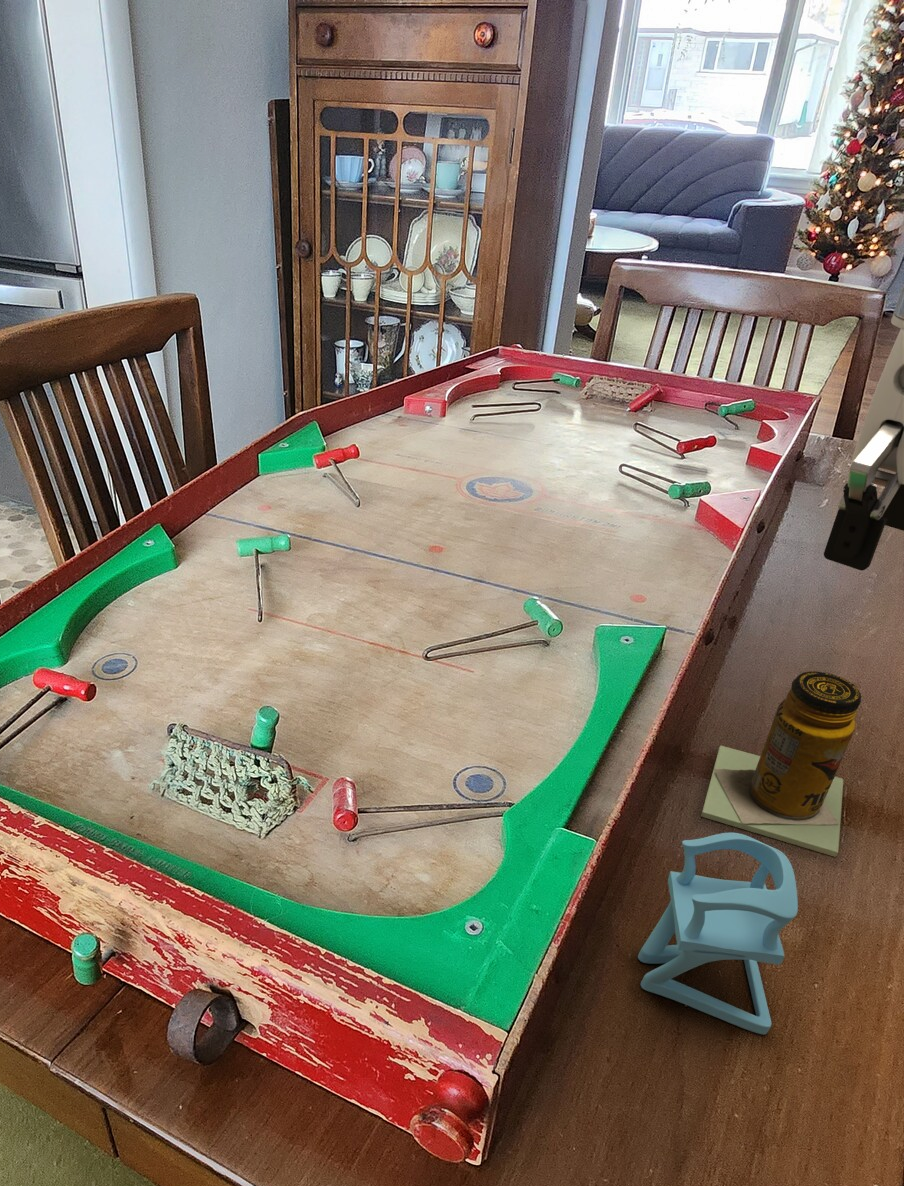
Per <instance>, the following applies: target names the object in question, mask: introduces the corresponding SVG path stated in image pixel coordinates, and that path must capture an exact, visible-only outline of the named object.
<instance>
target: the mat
mask: <svg viewBox="0 0 904 1186" xmlns="http://www.w3.org/2000/svg"><path fill="white" fill-rule="evenodd" d="M760 756H761V755H757V754H754V753H750V752H746V751H743V750H739V749H735V748H732V747H728V746H724V745H719V747H718V751H717V755H716V759H715V762H714V766H713V768H712V769H713V770H712V774H711V776H710V777H711V778H710V781H709V784H708V787H707V792H706V796H705V800H704V804H703V807H702V810H701V814H700V817H701V818H704V819H708V820H711V821H715V822H717V823H721V824H725V825H727V826H732V827H735V828H738V829H741V830H744V831H747V832H751V833H754V834H757V835H760V836H764V837H767V838H771V839H774V840H777V841H781V842H784V843H788V844H790V845H794V846H798V847H800V848H804V849H807V850H810V851H814V852H817V853H821V854H824V855H826V856H831V857H834V858H836V857H837V856H838V854H839V848H840V833H841V821H842V807H843V806H842V805H843V792H844V791H843V790H844V778H841V777H839V776H838V777H837V776H835V777H834V779H833V782H832V783H831V786H830V789H829V790H828V793H827V796H826V798H825V800H824V803H825V804H826V806H827V807H828V809H829V810H830V811H831V813H832V814H833V815H834V817H835V818H836V819H837V821H838V822H839V824H832V825H825V824H821V825H813V824H811V825H808V824H800V825H798V824H780V823H775V824H769V823H762V824H757V823H749V824H746V823H744V824H743V823H742V821H741V819H740V818H739V816H738V815H737V813H736V811H735V809H734V807H733V805H732V804H731V803H730V802H729V798H728V796H727V795H726V793H725V791H724V789H723V787H722V785H721V783H720V781H719V779H718V777H717V774H716V772H715V770H714V769H729V770H756V767H757V764H758V762H759V759H760Z"/></svg>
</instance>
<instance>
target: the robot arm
mask: <svg viewBox="0 0 904 1186" xmlns="http://www.w3.org/2000/svg"><path fill="white" fill-rule="evenodd" d="M899 293H900V294H899V296H898V298H897V301H896V305H895V307H894V310H893V313H892V317H891V320H890V324H892V326H895V327H896V328H899V332H898V334H897V337H896V339H895V341H894V343H893V346H892V348H891V351H890V353H889V356H888V357H887V359H886V362H885V365H884V367H883V370H882V371H881V375H880V377H879V380H878V381H877V382H878V383H877V385H876V388H875V391H874V392H873V396H872V398H871V401H870V403H869V406H868V409H867V412H866V414H865V416H864V417H865V418H864V419H863V423H862V426H861V428H860V431H859V434H858V437H857V441H856V444H855V447H854V450H853V454H852V457H851V464H850V467H849V470H848V471H849V472H848V481H847V482H846V483H845V484H844V486H843V490H842V493H843V494H842V496H841V499H840V501H839V502H838V509H837V512H836V514H835V518H834V521H833V524H832V527H831V530H830V533H829V537H828V539H827V542H826V545H825V548H824V551H823V557H824V558H825V560H828V561H831V562H833V563H836V564H840V565H843V566H846V567H849V568H852V569H855V570H858V571H865V570H867V569H868V568H870V566H871V564H872V561H873V558H874V555H875V553H876V550H877V547H878V545H879V542H880V539H881V537H882V535H883V532H884V529H885V526H886V527H890V528H892V529H895V530H899V531H902V532H904V282H903V283H902V287H901V289H900V292H899ZM880 469H883V470H880ZM885 470H887V471H885ZM888 471H891V472H894V473H891V472H888ZM872 484H873V485H872ZM876 485H877V486H881V487H884V488H883V490H882V492H881V493H880V495H879V496H878V489H877V486H876Z"/></svg>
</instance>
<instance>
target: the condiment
mask: <svg viewBox="0 0 904 1186" xmlns="http://www.w3.org/2000/svg"><path fill="white" fill-rule="evenodd" d="M861 703H862V694H861V691H860V690H859V689H858V688H857V686H856V684H855V683H852V682H851V681H849V680H847V679H846V678H844V677H841V676H838V675H835V674H833V673H829V672H824V671H823V672H821V671H817V670H816V671H811V670H810V671H803V672H802V673H800V674H798V675H797V677H796V678H794V679H793V681H792V682H791V687H790V689H789V691H788V692H787V695H786V698H785V699H783V700H782V701H781V702H780V703H779V705H778V707H777V709H776V712H775V715H774V716H773V720H772V723H771V725H770V729H769V732H768V733H767V737H766V740H765V743H764V744H763V748H762V750H761V754H760V755H759V756H760V759H759V762H758V764H757V767H756V770H729V769H714V768H713V769H714V770H715V772H716V774H717V777H718V779H719V781H720V783H721V785H722V787H723V789H724V791H725V793H726V795H727V796H728V798H729V802H730V803H731V804H732V805H733V807H734V809H735V811H736V813H737V815H738V816H739V818H740V819H741V821H742V823H743V824H744V823H746V824H749V823H757V824H762V823H769V824H775V823H780V824H798V825H800V824H808V825H811V824H813V825H821V824H825V825H832V824H839V822H838V821H837V819H836V818H835V817H834V815H833V814H832V813H831V811H830V810H829V809H828V807H827V806H826V804H825V803H824V800H825V798H826V796H827V793H828V790H829V789H830V786H831V783H832V782H833V779H834V777H836V774H837V771H838V770H839V767H840V765H841V762H842V760H843V757H844V755H845V754H846V751H847V748H848V746H849V743H850V742H851V740H852V738H853V735H854V732H855V730H856V720H855V718H856V716H857V710H858V709H859V706H860V705H861Z"/></svg>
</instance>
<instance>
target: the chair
mask: <svg viewBox="0 0 904 1186" xmlns="http://www.w3.org/2000/svg"><path fill="white" fill-rule="evenodd" d="M681 843H682V847H683V852H684V864H683V865H684V866H683V869H682V870H681V872H679V871H672V870H671V871H670V872H669V875H668V878H667V884H668V885H667V886H668V891H669V892H668V893H669V896H670V901H669V903H668V904H667V907H666V908H665V910H664V912H663V914H662V915H661V917H660V919H659V920H658V922H657V923H656V925H655V927H654V928H653V929H652V932H651V933H650V935H649V936H648V938H647V939H646V941H645V942H644V944H643V945H642V947H641V948H640V950H639V952H638V955H637V959H638V960H639V961H640V962H641V963H643V964H649V965H650V964H651V965H659V964H661V965H660V966H658V967H656V968H654V969H652V970H650V971H648V972H646V973H645V974H644V976H643V978H642V980H641V981H640V983H639V984H640V988H641V989H642V990H644V991H646V992H649V993H651V994H656V995H659V996H660V997H661V996H662V997H665V998H667V999H669V1000H673V1001H675V1002H677V1003H680V1004H683V1005H685V1006H688V1007H690V1008H693V1009H694V1010H698V1011H700V1012H701V1013H705V1014H707V1015H709V1016H711V1017H715V1018H717V1019H719V1020H721V1021H724V1022H726V1023H729V1024H731V1025H734V1026H736V1027H739V1028H741V1029H744V1030H747V1031H749V1032H752V1033H756V1034H758V1035H764V1036H765V1035H767V1034H768V1033H769V1030H770V1029H771V1027H772V1024H773V1023H772V1018H771V1014H770V1011H769V1007H768V1003H767V998H766V994H765V990H764V985H763V982H762V981H763V980H762V977H761V973H760V968H759V963H765V964H770V965H771V964H772V965H777V966H781V965H782V963H783V961H784V959H785V957H786V956H785V951H784V948H783V943H782V940H781V937H780V934H779V933H780V932H781V931H782V930H783V929H784V928H785V927H786V926H787V925H789V923H791V922H792V921H793V920H794V919H795V918H796V917H797V914H798V911H799V901H798V900H799V899H798V889H797V888H798V887H797V882H796V875H795V871H794V868H793V866H792V863H791V862H790V859H789V858H788V857H787V855H786V854H785V853H784V852H783V851H781V850H779V849H778V848H775V847H773V846H771V845H768V844H767V843H764V842H762V841H760V840H758V839H756V838H753V837H752V836H749V835H746V834H743V833H738V832H722V833H716V834H713V835H709V836H705V837H701V838H696V839H684V840H682V842H681ZM720 850H734V851H737V852H742V853H744V854H747V855H748V856H750V857H752V858H754V859H755V860H756V861H758V862H759V863H761V864H759V867H758V868H757V870H756V872H755V873H754V874H753V876H752V878H751V880H750V881H743V880H732V879H723V878H715V877H707V876H703V875H698V874H696V868H697V866H696V865H697V864H696V857H695V856H697V855H701V854H704V853H708V852H713V851H720ZM769 874H770V875H771V877H772V880H773V884H774V887H775V889H768V887H767V884H766V880H767V878H768V876H769ZM673 936H675V939H676V940H675V941H676V944H671V945H670V944H669V943H670V941H671V939H672V938H673ZM716 961H743V963H744V967H745V971H746V976H747V980H748V985H749V991H750V994H751V998H752V1004H753V1008H754V1012H755V1014H752V1013H750V1012H748V1011H746V1010H743V1009H741V1008H738V1007H737V1006H734V1005H732V1004H730V1003H728V1002H725V1001H722V1000H720V999H718V998H715V997H714V996H712V995H709V994H707V993H704V992H702V991H699V990H698V989H696V988H693V987H691V986H688V985H686V984H683V983H681V982H679V981H676V980H675V979H674V978H677V977H678V976H679V975H682V974H684V973H685V972H688V971H690V970H692V969H695V968H698V967H700V966H702V965H704V964H708V963H713V962H716ZM758 962H759V963H758Z"/></svg>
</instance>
